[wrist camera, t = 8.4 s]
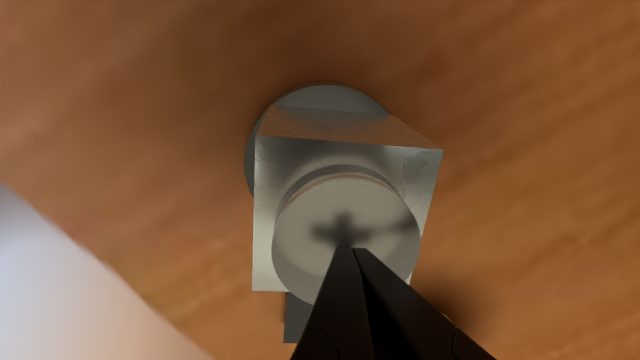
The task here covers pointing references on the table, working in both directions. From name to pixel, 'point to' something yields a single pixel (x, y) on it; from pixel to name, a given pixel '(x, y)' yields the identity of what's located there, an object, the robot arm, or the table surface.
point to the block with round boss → (336, 194)
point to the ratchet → (318, 98)
